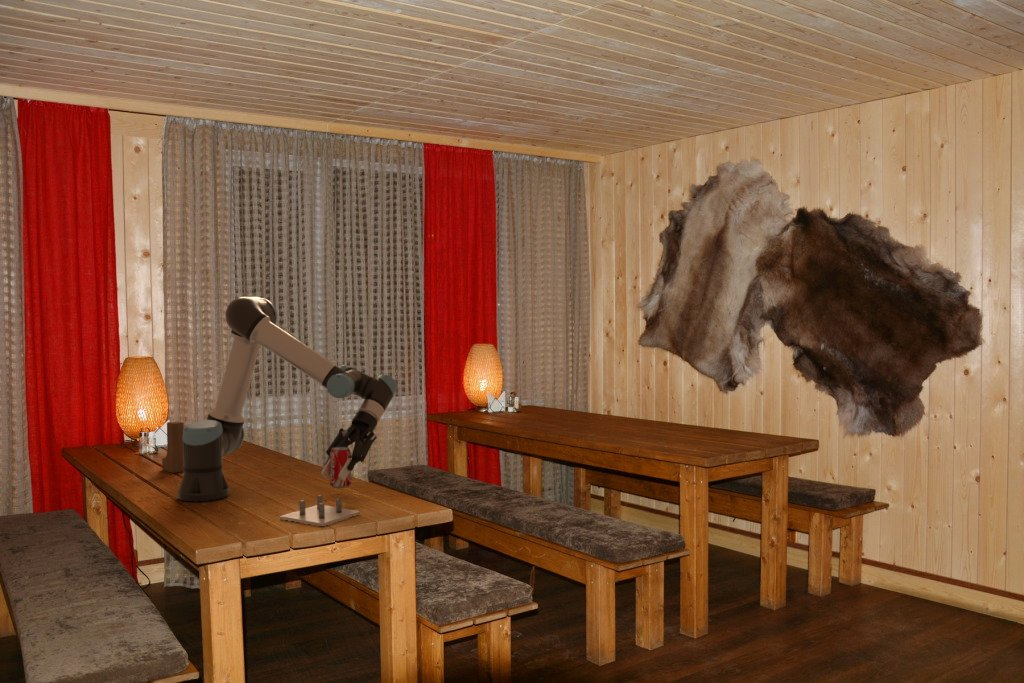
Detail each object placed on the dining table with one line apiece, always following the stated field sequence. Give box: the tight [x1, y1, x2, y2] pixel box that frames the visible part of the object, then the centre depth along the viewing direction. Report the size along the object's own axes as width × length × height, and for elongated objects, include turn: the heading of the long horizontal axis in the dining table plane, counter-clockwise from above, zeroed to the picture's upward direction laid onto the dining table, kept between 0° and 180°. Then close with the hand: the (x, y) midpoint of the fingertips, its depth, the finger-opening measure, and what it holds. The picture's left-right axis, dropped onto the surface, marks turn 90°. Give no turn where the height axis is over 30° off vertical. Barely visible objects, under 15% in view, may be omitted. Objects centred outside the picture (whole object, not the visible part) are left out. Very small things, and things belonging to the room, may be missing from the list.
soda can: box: [329, 446, 352, 489], centre depth 262 cm, size 6×6×12 cm
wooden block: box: [161, 420, 185, 474], centre depth 310 cm, size 9×4×18 cm, turn 46°
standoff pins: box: [298, 494, 343, 519], centre depth 245 cm, size 9×9×4 cm
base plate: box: [279, 504, 362, 527], centre depth 245 cm, size 16×16×1 cm
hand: (332, 476), depth 259 cm, fingers closed on soda can, 6 cm apart
